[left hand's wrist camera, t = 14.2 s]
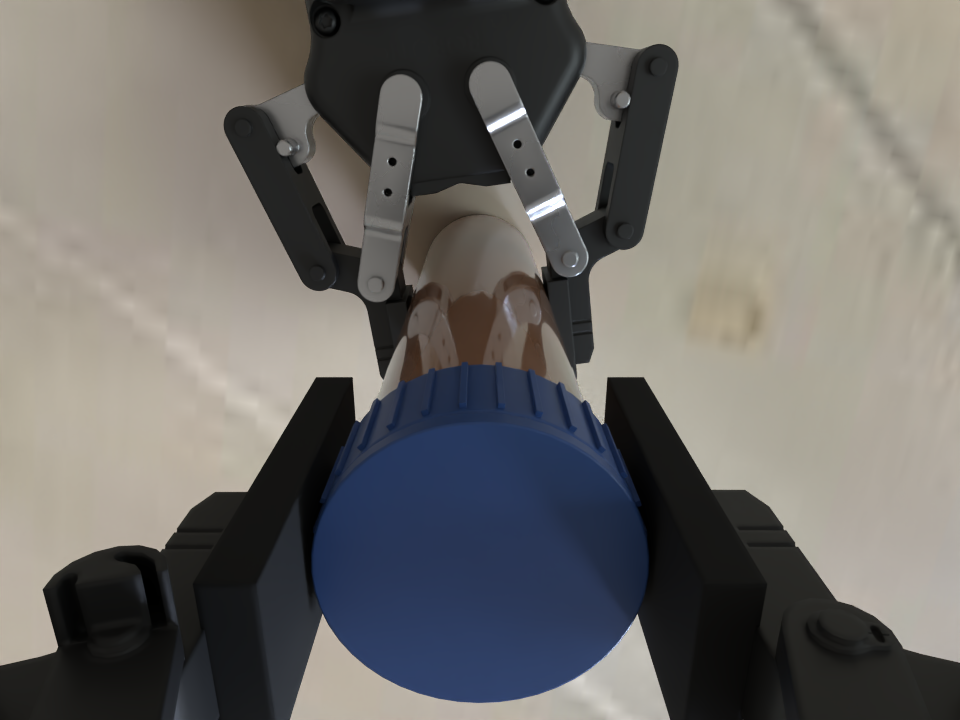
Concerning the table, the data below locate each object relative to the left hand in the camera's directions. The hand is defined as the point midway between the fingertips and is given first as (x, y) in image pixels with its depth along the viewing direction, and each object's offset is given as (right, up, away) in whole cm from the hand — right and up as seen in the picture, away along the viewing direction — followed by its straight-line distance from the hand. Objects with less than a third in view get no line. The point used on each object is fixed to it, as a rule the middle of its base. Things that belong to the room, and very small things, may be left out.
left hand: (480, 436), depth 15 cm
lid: (0, -2, -4) cm, 4 cm away
